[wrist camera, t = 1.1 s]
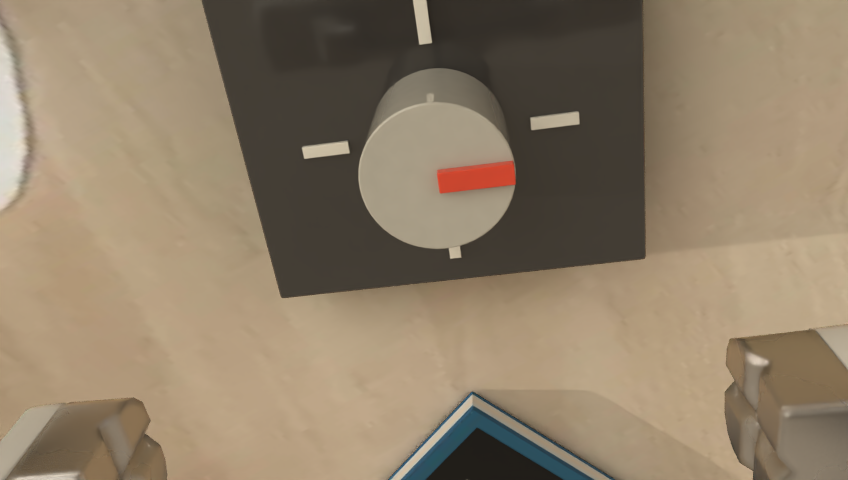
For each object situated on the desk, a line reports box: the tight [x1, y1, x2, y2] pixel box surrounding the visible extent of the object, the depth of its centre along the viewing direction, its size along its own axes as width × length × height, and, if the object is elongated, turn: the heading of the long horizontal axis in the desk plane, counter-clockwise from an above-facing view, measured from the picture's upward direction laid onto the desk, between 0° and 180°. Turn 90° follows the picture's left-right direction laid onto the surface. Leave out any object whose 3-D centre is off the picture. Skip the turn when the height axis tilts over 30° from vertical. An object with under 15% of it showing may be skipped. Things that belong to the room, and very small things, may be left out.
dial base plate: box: [201, 0, 646, 298], centre depth 22 cm, size 14×12×3 cm
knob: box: [358, 68, 516, 249], centre depth 20 cm, size 4×4×4 cm
